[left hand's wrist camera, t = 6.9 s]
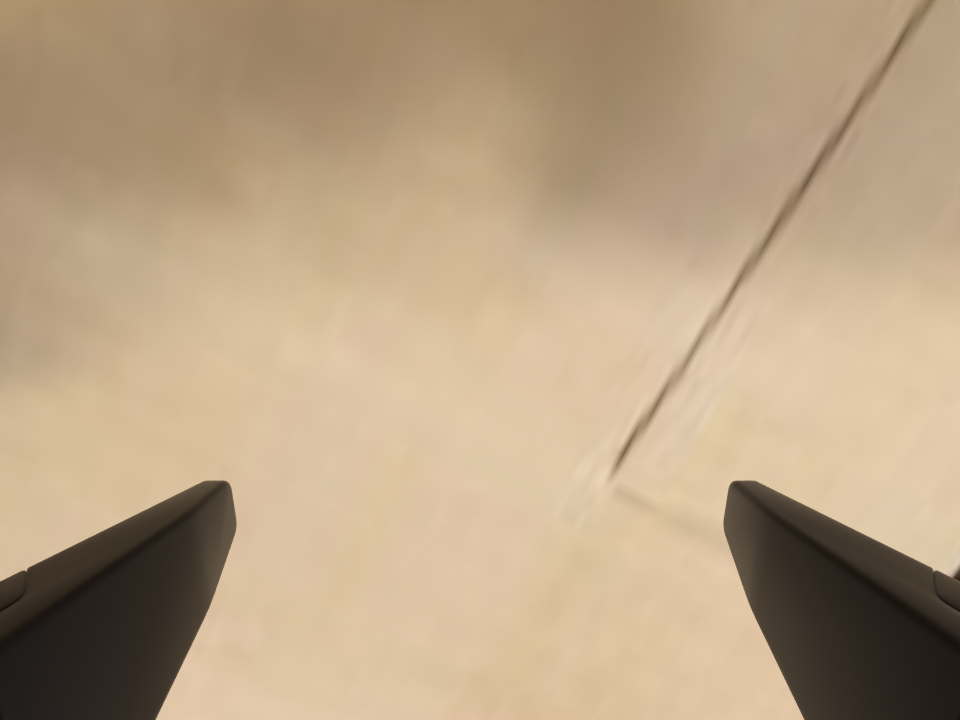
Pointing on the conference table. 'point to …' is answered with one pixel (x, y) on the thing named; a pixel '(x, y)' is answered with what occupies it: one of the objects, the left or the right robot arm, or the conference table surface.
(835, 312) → the conference table surface
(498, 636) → the conference table surface
